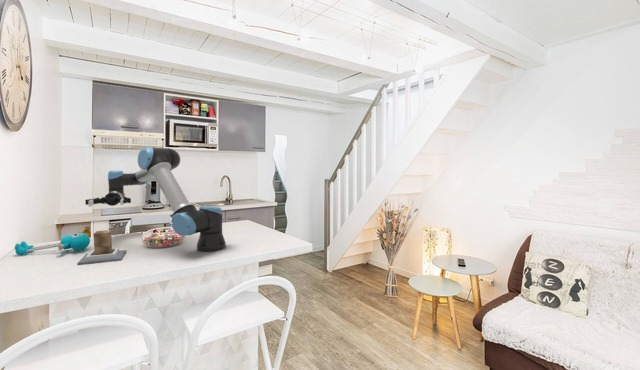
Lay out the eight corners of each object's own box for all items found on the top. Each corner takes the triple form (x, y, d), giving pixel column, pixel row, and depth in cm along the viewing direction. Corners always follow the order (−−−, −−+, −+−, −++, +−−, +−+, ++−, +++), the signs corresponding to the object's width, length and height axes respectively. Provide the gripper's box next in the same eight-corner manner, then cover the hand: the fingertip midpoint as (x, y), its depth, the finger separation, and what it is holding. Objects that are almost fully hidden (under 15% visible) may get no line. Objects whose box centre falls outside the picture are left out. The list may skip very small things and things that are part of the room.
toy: (31, 237, 163) (95, 226, 171) (35, 255, 164) (99, 243, 173) (1, 249, 142) (76, 236, 150) (6, 269, 143) (80, 255, 151)
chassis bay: (126, 251, 160) (126, 246, 159) (121, 260, 146) (121, 254, 146) (86, 255, 152) (86, 249, 152) (77, 265, 139) (77, 258, 139)
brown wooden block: (112, 253, 153) (111, 230, 152) (109, 256, 148) (108, 232, 147) (97, 254, 151) (96, 231, 150) (94, 258, 145) (93, 233, 144)
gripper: (138, 203, 181) (134, 209, 162) (87, 206, 170) (75, 211, 151) (138, 191, 180) (133, 195, 161) (86, 192, 170) (74, 196, 150)
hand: (105, 203), depth 156 cm, fingers open, 13 cm apart
